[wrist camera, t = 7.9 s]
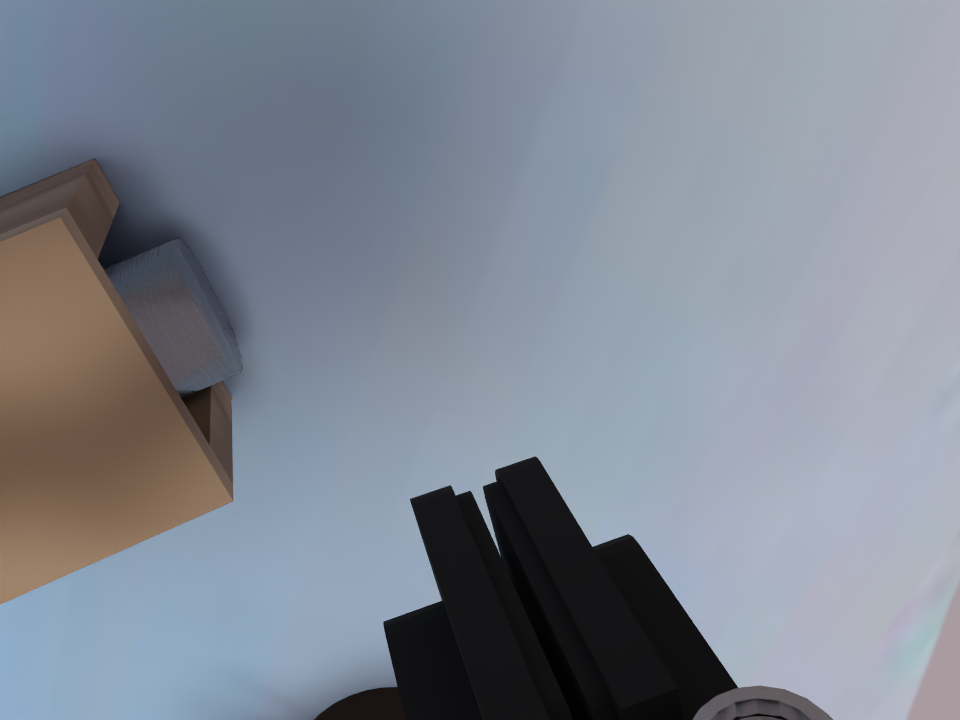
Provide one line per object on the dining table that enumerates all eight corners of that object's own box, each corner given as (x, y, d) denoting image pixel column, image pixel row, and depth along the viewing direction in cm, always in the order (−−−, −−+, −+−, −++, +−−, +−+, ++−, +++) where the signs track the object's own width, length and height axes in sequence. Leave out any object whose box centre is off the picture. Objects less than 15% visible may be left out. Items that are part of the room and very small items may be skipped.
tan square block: (-196, 276, 23) (-314, 370, 18) (94, 158, 24) (60, 217, 19) (-16, 505, 27) (-71, 635, 22) (231, 398, 28) (233, 501, 23)
